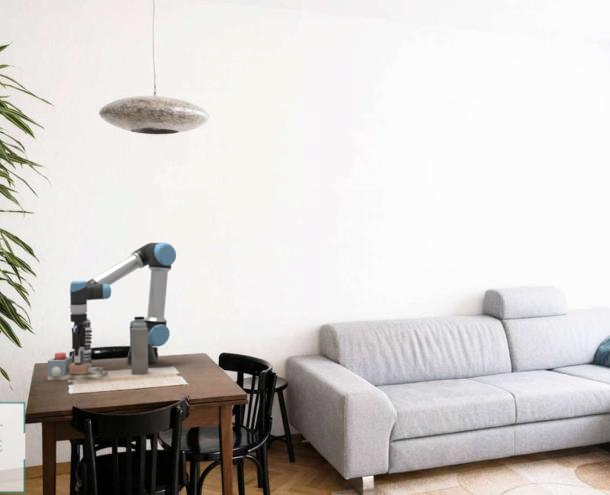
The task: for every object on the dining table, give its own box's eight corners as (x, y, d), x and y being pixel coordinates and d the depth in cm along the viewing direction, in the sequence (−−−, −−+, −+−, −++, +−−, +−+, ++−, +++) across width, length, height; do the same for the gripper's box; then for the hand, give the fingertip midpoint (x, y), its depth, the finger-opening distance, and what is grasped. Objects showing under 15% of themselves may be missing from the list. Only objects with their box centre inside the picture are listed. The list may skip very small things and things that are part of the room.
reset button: (67, 359, 316) (67, 352, 316) (63, 361, 311) (63, 354, 311) (57, 359, 316) (57, 352, 316) (53, 361, 311) (53, 354, 311)
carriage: (89, 371, 318) (89, 350, 317) (85, 374, 311) (85, 353, 310) (73, 371, 317) (73, 350, 317) (68, 374, 310) (68, 353, 310)
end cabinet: (72, 374, 319) (72, 356, 319) (64, 379, 308) (64, 361, 308) (56, 374, 319) (56, 356, 319) (47, 380, 308) (47, 361, 308)
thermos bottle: (137, 370, 328) (137, 315, 328) (151, 371, 326) (150, 316, 325) (128, 374, 321) (127, 317, 320) (142, 375, 318) (141, 318, 318)
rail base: (107, 374, 320) (107, 365, 320) (100, 379, 308) (100, 370, 308) (56, 374, 320) (56, 365, 320) (47, 380, 308) (47, 370, 308)
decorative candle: (95, 364, 345) (95, 317, 345) (87, 368, 336) (87, 319, 335) (78, 364, 346) (78, 317, 346) (70, 367, 337) (70, 319, 336)
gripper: (77, 311, 322) (77, 358, 323) (64, 315, 305) (64, 365, 305) (92, 311, 322) (92, 358, 323) (80, 315, 305) (80, 364, 305)
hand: (79, 361), depth 314 cm, fingers open, 4 cm apart
